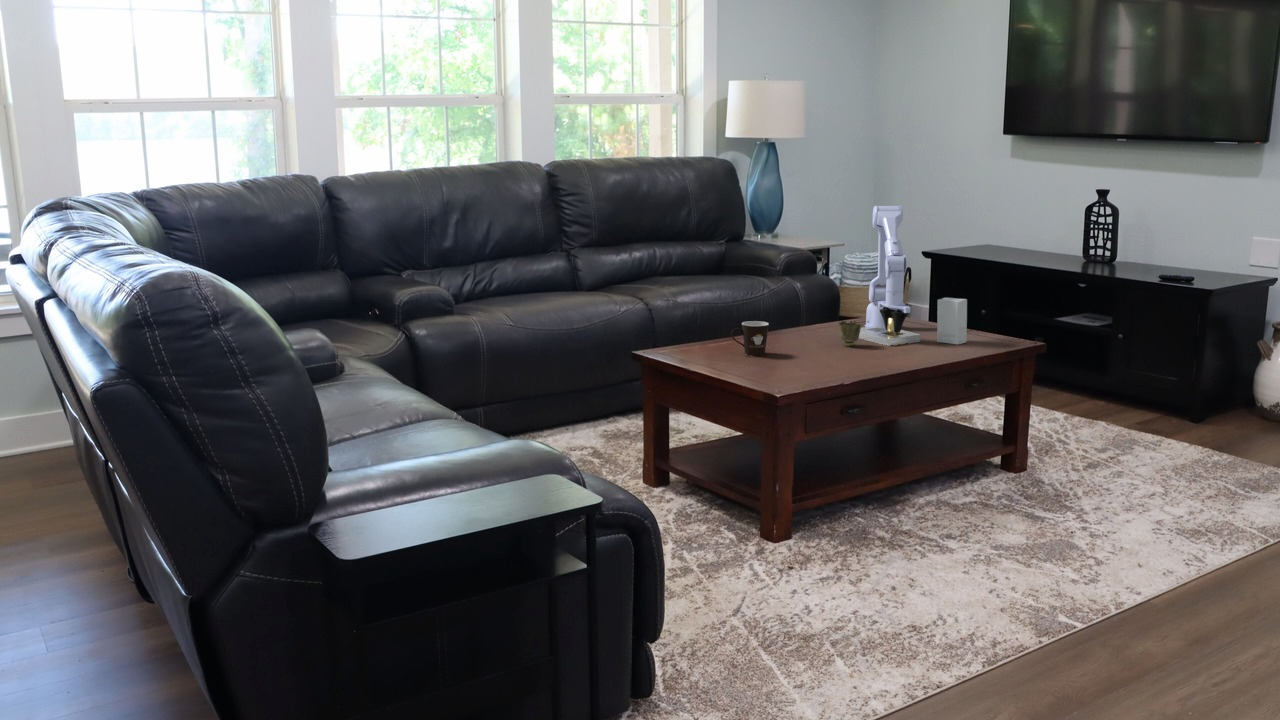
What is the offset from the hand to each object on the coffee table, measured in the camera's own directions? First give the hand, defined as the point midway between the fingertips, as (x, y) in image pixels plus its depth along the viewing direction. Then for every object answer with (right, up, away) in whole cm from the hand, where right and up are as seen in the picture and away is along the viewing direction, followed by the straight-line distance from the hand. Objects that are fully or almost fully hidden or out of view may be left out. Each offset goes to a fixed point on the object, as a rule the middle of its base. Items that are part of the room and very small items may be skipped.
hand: (892, 330), depth 371 cm
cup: (-16, -5, -7) cm, 18 cm away
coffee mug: (-50, -8, -17) cm, 54 cm away
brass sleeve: (0, -2, +1) cm, 3 cm away
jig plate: (-2, -3, +4) cm, 5 cm away
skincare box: (+19, -4, -2) cm, 20 cm away
